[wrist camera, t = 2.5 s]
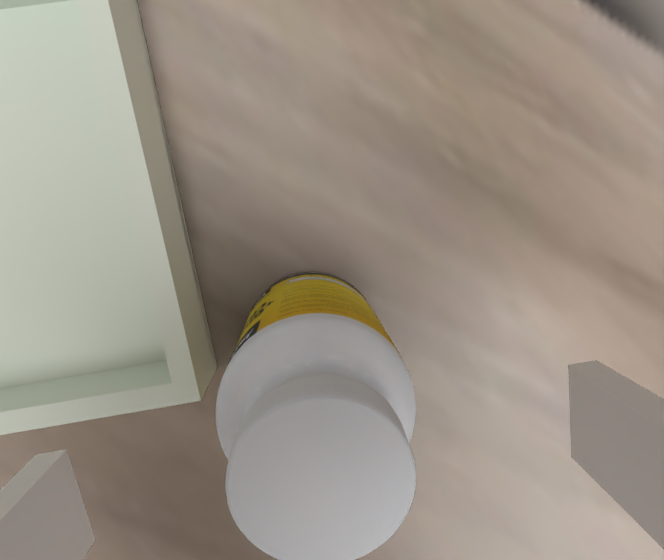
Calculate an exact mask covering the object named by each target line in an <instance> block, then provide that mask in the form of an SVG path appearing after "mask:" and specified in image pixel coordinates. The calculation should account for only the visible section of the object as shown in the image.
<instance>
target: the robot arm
mask: <svg viewBox="0 0 664 560" xmlns="http://www.w3.org/2000/svg"><path fill="white" fill-rule="evenodd" d="M568 369H569V402H570V434H571V457H572V458H573V459H574V460H575V461H576V462H577V463H578V464H579V465H580V466H581V467H582V468H583V469H584V470H585V471H586V472H587V473H588V474H589V475H590V476H591V477H592V478H593V479H594V480H595V481H596V482H597V483H598V484H599V485H600V486H601V487H602V488H603V489H604V490H605V491H606V492H607V493H608V494H609V495H610V496H611V497H612V498H613V499H614V500H615V501H616V502H617V503H618V504H619V505H620V506H621V507H622V508H623V509H624V510H625V511H626V512H627V513H628V514H629V515H630V516H631V517H632V518H633V519H634V520H635V521H636V522H637V523H638V524H639V525H640V526H641V527H642V528H643V529H644V530H645V531H646V532H647V533H648V534H649V535H650V536H651V537H652V538H653V539H654V540H655V541H656V542H657V543H658V544H659V545H660V546H661V547H662V548H663V549H664V399H663V398H661V397H659V396H658V395H656V394H654V393H652V392H651V391H649V390H647V389H645V388H644V387H642V386H640V385H639V384H637V383H635V382H633V381H632V380H630V379H628V378H626V377H625V376H623V375H621V374H619V373H618V372H616V371H614V370H613V369H611V368H609V367H607V366H606V365H604V364H602V363H600V362H599V361H597V360H595V361H589V362H583V363H577V364H571V365H568ZM94 542H95V537H94V534H93V531H92V528H91V525H90V521H89V518H88V515H87V512H86V509H85V506H84V503H83V499H82V496H81V493H80V490H79V487H78V484H77V481H76V477H75V474H74V471H73V468H72V465H71V462H70V459H69V455H68V452H67V449H65V450H59V451H53V452H47V453H41V454H36V455H35V456H34V457H33V458H32V459H31V460H30V461H29V462H28V463H27V464H26V465H25V466H24V467H23V468H22V469H21V470H20V471H18V472H17V473H16V474H15V475H14V476H13V477H12V478H11V479H10V480H9V481H8V482H7V483H6V484H5V485H4V486H3V487H2V488H1V489H0V560H84V558H85V556H86V555H87V553H88V551H89V550H90V548H91V547H92V545H93V543H94Z"/></svg>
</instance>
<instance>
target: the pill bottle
mask: <svg viewBox="0 0 664 560" xmlns="http://www.w3.org/2000/svg"><path fill="white" fill-rule="evenodd" d="M415 418H416V399H415V391H414V386H413V383H412V379H411V376H410V374H409V371H408V369H407V367H406V365H405V363H404V361H403V359H402V357H401V356H400V354H399V352H398V351H397V349H396V347H395V346H394V344H393V342H392V341H391V339H390V337H389V336H388V334H387V332H386V331H385V329H384V328H383V326H382V324H381V323H380V321H379V320H378V318H377V316H376V315H375V313H374V312H373V310H372V309H371V307H370V305H369V304H368V302H367V301H366V299H365V298H364V297H363V296H362V295H361V293H360V292H359V291H358V290H357V289H355V288H354V287H353V286H352V285H350V284H349V283H347V282H346V281H344V280H342V279H340V278H337V277H335V276H332V275H328V274H324V273H315V272H310V273H300V274H295V275H292V276H289V277H286V278H284V279H282V280H280V281H278V282H277V283H275V284H274V285H272V286H271V287H270V288H269V289H267V290H266V291H265V292H264V293H263V294H262V295H261V296H260V298H259V299H258V300H257V302H256V303H255V304H254V306H253V308H252V310H251V312H250V314H249V317H248V319H247V321H246V324H245V326H244V329H243V331H242V333H241V336H240V338H239V341H238V343H237V345H236V347H235V350H234V352H233V354H232V356H231V358H230V361H229V363H228V365H227V368H226V370H225V372H224V375H223V377H222V380H221V383H220V386H219V390H218V394H217V400H216V428H217V433H218V437H219V441H220V444H221V447H222V449H223V452H224V454H225V456H226V458H227V460H228V465H227V469H226V478H225V488H226V497H227V502H228V507H229V509H230V512H231V515H232V517H233V519H234V521H235V523H236V524H237V526H238V528H239V529H240V530H241V532H242V533H243V534H244V535H245V537H246V538H247V539H248V540H249V541H250V542H251V543H252V544H254V545H255V546H256V547H257V548H259V549H260V550H262V551H263V552H265V553H266V554H268V555H270V556H272V557H274V558H276V559H278V560H355V559H358V558H360V557H363V556H365V555H366V554H368V553H370V552H371V551H373V550H375V549H376V548H378V547H379V546H381V545H382V544H383V543H384V542H385V541H387V540H388V539H389V538H390V537H391V536H392V535H393V534H394V533H395V532H396V530H397V529H398V528H399V526H400V525H401V523H402V522H403V520H404V519H405V517H406V515H407V513H408V511H409V510H410V507H411V504H412V501H413V497H414V494H415V487H416V466H415V460H414V456H413V453H412V450H411V447H410V444H409V442H410V440H411V437H412V434H413V430H414V425H415Z"/></svg>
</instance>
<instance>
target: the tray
mask: <svg viewBox="0 0 664 560" xmlns="http://www.w3.org/2000/svg"><path fill="white" fill-rule="evenodd" d="M216 369H217V363H216V359H215V354H214V350H213V345H212V341H211V336H210V331H209V327H208V322H207V318H206V313H205V309H204V304H203V299H202V295H201V290H200V286H199V281H198V277H197V272H196V268H195V263H194V258H193V254H192V249H191V245H190V240H189V236H188V231H187V226H186V222H185V217H184V213H183V208H182V204H181V199H180V195H179V190H178V185H177V181H176V176H175V172H174V167H173V163H172V158H171V153H170V149H169V144H168V140H167V135H166V131H165V126H164V122H163V117H162V112H161V108H160V103H159V99H158V94H157V90H156V85H155V80H154V76H153V71H152V67H151V62H150V58H149V53H148V49H147V44H146V39H145V35H144V30H143V26H142V21H141V17H140V12H139V7H138V3H137V0H0V435H4V434H10V433H16V432H21V431H27V430H33V429H39V428H45V427H51V426H57V425H62V424H68V423H74V422H80V421H86V420H92V419H97V418H103V417H109V416H115V415H121V414H127V413H132V412H138V411H144V410H150V409H156V408H162V407H168V406H173V405H179V404H185V403H191V402H197V401H201V400H202V398H203V395H204V393H205V391H206V389H207V387H208V385H209V383H210V381H211V379H212V377H213V375H214V373H215V371H216Z"/></svg>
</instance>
